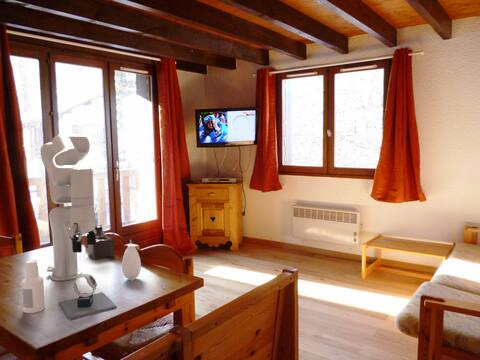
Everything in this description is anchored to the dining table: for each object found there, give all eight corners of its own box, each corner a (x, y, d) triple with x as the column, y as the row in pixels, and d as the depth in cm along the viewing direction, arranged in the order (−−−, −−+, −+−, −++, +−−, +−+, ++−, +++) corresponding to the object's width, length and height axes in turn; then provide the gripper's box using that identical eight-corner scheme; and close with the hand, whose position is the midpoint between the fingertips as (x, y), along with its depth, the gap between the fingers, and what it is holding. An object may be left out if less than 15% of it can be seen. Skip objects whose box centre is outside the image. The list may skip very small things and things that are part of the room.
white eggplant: (136, 283, 166) (134, 242, 164) (119, 282, 168) (117, 241, 166) (144, 277, 174) (143, 237, 172) (128, 276, 175) (126, 236, 174)
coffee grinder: (86, 256, 206) (84, 222, 204) (107, 252, 213) (105, 219, 211) (97, 263, 194) (95, 227, 192) (118, 258, 201) (117, 224, 199)
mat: (69, 319, 133) (69, 317, 133) (59, 304, 146) (59, 302, 146) (116, 307, 142) (116, 305, 142) (102, 293, 155) (102, 291, 155)
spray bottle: (28, 306, 144) (25, 258, 142) (48, 305, 145) (45, 258, 143) (20, 314, 137) (16, 264, 135) (40, 313, 138) (37, 264, 136)
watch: (95, 306, 142) (94, 277, 140) (72, 308, 140) (71, 278, 139) (98, 300, 147) (97, 271, 146) (76, 301, 146) (74, 273, 145)
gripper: (85, 197, 149) (87, 241, 151) (58, 205, 132) (61, 254, 134) (104, 198, 148) (105, 242, 150) (79, 206, 131) (81, 255, 133)
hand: (84, 248), depth 142 cm, fingers open, 9 cm apart
